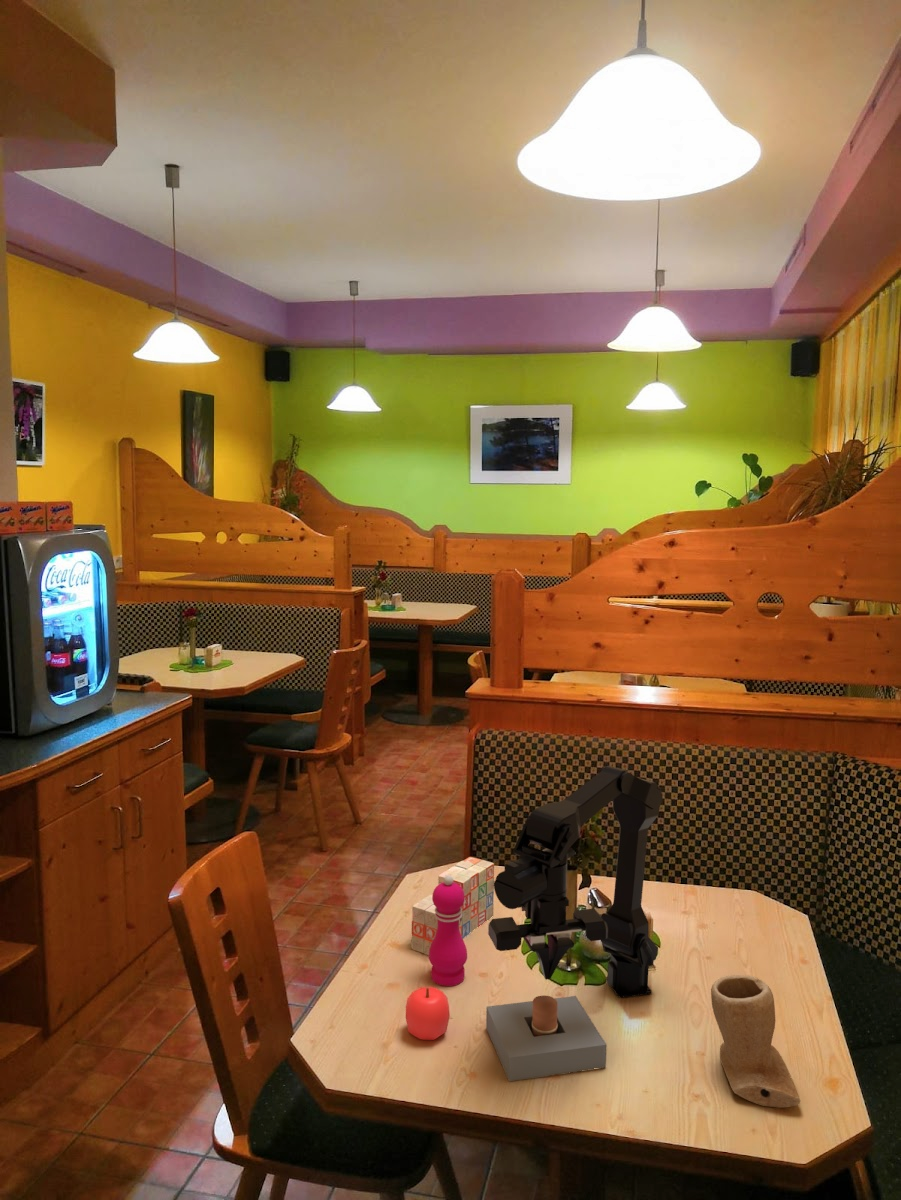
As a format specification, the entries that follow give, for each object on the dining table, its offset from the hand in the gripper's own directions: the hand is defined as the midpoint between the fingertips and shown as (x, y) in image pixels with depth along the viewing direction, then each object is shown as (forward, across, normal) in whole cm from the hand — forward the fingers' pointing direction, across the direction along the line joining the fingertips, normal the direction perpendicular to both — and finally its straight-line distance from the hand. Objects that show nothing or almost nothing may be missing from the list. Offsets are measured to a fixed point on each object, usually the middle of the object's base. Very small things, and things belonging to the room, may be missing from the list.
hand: (546, 978), depth 147 cm
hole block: (+12, 0, +1) cm, 12 cm away
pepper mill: (+12, +11, -23) cm, 29 cm away
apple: (+12, +18, -7) cm, 23 cm away
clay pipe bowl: (+12, -28, +15) cm, 34 cm away
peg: (+12, 0, +1) cm, 12 cm away
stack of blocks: (+12, +6, -40) cm, 42 cm away
